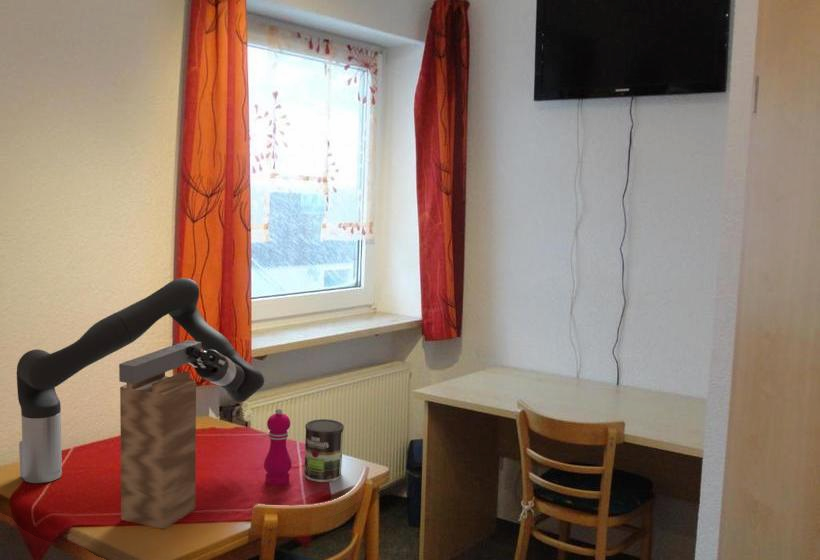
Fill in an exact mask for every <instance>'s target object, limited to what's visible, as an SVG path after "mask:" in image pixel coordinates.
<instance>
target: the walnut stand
mask: <svg viewBox="0 0 820 560" xmlns="http://www.w3.org/2000/svg"><path fill="white" fill-rule="evenodd" d="M119 394H120V395H119V397H120V398H119V399H120V400H119V402H120V405H119V406H120V407H119V409H120V410H119V411H120V412H119V413H120V416H119V417H120V422H119V423H120V515H121V517H120V519H121V520H123V521H126V522H130V523H131V522H132V523H135V524H140V525H143V526H148V527H152V528H156V529H160V530H162V531H163V530H167V529H168V528H169V527H171V526H172V525H173V524H175V523H176V522H178V521H180V520H182V519H183V518H184V517H186V516H187V515H189V514H191V513H192V512H193V511H194V510H196V461H197V459H196V452H197V451H196V447H197V443H196V442H197V437H196V436H197V435H196V434H197V428H196V427H197V381H196V380H191V371H182V372H179V373H176V374H174V375H172V376H166V372H164V373H162V374H159V375H157V376H154V377H152V378H149V379H147V380H144V381H141V382H139V383H136V384H130V383H126V384H125V385H122V386H119ZM179 519H180V520H179Z"/></svg>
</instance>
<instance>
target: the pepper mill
mask: <svg viewBox="0 0 820 560" xmlns="http://www.w3.org/2000/svg"><path fill="white" fill-rule="evenodd" d="M266 426H267V429H268V430H269V432H268V438H269V439H270V441H269V442H270V445H269V450H268V452H267V454H266V456H265V458H264V462H263V468H264V470H265V472H266V473H265V480H264V481H265V482H266V484H269V485H271V486H283V485H286V484H287V483H289V482H290V473H289V471H290V470H292V469H291V468H292V465H293V464H292V458H291V456H290V454H289V451H288V448H287V439H288V437H289V431H288V430H289V429H290V427H291V419H290V417H289V416H288V415H287V414H285V413H283V409H282V408H281V407H278V408H276V410H275V413H273V414H271V415H270V416H269V417H268V419H267V422H266Z"/></svg>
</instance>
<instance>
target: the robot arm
mask: <svg viewBox="0 0 820 560" xmlns="http://www.w3.org/2000/svg"><path fill="white" fill-rule="evenodd" d="M199 298H200V287H199V285H198V283H197V282H196V281H195V280H193V279H191V278H187V277H180V278H176V279H174V280H172V281H170V282H168V283H167V284H165V285H164V286H162V287H161V288H159V289H157V290H156V291H154V292H153V293H151V294H150V295H148V296H146V297H145V298H143V299H140V300H138V301H136V302H134V303H132V304H131V305H129V306H126V307H125V308H123V309H121V310H119V311H117V312H115V313H112V314H110V315H108V316H106V317H104V318H102V319H101V320H98V321H97V322H95V323H94V324H92V325H91V326H90V328H88V330H86V331H85V332H84V334H82V335H81V336H80V338H79V339H77V340H76V341H74V342H73V343H72V344H69V345H67V346H66V347H64V348H60V349H59V350H57V351H54V352H51V353H50V352H48V351H46V350H42V349H31V350H28V351H26V352H25V353H24V354H23V355H22V356H21V357H20V358H19V360H18V362H17V366H16V386H17V389H16V390H17V399H18V405H19V406H20V411H21V413H20V414H21V441H19V443H18V450H19V451H18V453H19V477H20V478H22V479H23V480H24V482H26V483H29V484H31V483H32V484H43V483H49V482H53V481H55V480H57V479H59V478H61V477H62V476H63V472H62V471H63V469H62V468H63V465H62V463H63V462H62V461H63V459H62V411H61V406H62V405H61V401H60V399H59V397H58V395H57V392H56V387H58V386H60V385H61V384H63V383H64V382H66V381H67V380H68V379H69V378H71V377H73V376H74V375H76V374H78V373H79V372H80V371H82V370H83V369H85V368H86V367H88V366H90V365H92V364H94V363H97V362H98V361H100V360H103V359H104V358H105V357H108V356H110V355H112V354H113V353H115V352H117V351H119V350H121V349H123V348H125V347H126V346H129V345H130V344H132V343H134V342H135V341H137V340H139V338H140V337H141V336H143V335H144V334H145V333H146V332H147V331H148V330H149V329H150V328H151V327H153V325H154V324H156V323H157V322H158V321H159V320H160V319H162V318H164V317H166V316H167V315H169V316H170V318H172V319H173V320H174V321H175V322H176V323H177V324H178V325H180V327H181V328H182V329H184V331H185V332H186V333H187V334H188V335H189V336H191V338H192V339H193V341H197V342H201V350H199V349H197V348H195V347H194V346H189V348H188V351H187V354H188V355H190V356H192V357H193V358H197V360H195V361H192V362H190V363H188V364H189V365H190V366H191V367H194V370H195V373H196V374H197V375H198V376H199V377H200V378H203V379H204V380H206V381H207V382H210V383H212V384H214V385H217V386H219V387H222V388H223V389H224V390H225V391H226V392H227V394H228V396H229V397H230V399H231V400H232V401H234V402H235V403H244V402H246V401H247V400H248V399H250V397H252V396H253V395H254V394H256V393H257V392H258V391H259V390H260V389H261V388H262V387H263V386H264V385H265V377H264V375H263V374H262V372H261V371H260V370H259V369H257V368H256V367H254V366H253V365H251V363H249V362H247V361H246V360H245V359H244V358H243V357H242V356H241V355H240V354H239V353H238V352H237V350H236V349H235V347H234V346H233V345H232V343H230V341H229V340H228V339H227V338H226V336H225V335H224V334H222V333H221V332H219V331H218V330H217V329H215V328H213V327H212V326H210V324H209V323H208V322H206V321H205V318H203V317H202V315H201V313H200V311H199V309H198V307H197V306H198V305H197V304H198V302H199ZM175 344H177V343H176V342H175V343H172V345H175Z"/></svg>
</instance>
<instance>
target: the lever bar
mask: <svg viewBox="0 0 820 560" xmlns="http://www.w3.org/2000/svg"><path fill="white" fill-rule="evenodd" d="M189 346H194V347H195V348H197V349H199V350H202V348H201V342H197V341H195V340H189V339H186V340H185V341H181V342H178V343H176V344H175V345H173V344H172V345H169V346H166V347H164V348H162V349H159V350H155V351H152V352H150V353H146V354H144V355H140V356H138V357H135V358H133V359H132V358H131V359H129V360H127V361H123V362H121V363H119V364H118V365H119V366H118V367H119V369H118V372H119V375H118V376H119V377H118V378H119V382H120V383H125V384H127V383H130V384H136V383H139V382H141V381H144V380H147V379H149V378H152V377H154V376H157V375H159V374H162V373H164V372H165V373H166V372H169V371H172V370H174V369H177V368H179V367H183V366H184V365H187V364H189V363H190V362H192V361H195V360H197V358H193V357H192V356H190V355H188V354H187V351H188V348H189Z"/></svg>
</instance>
